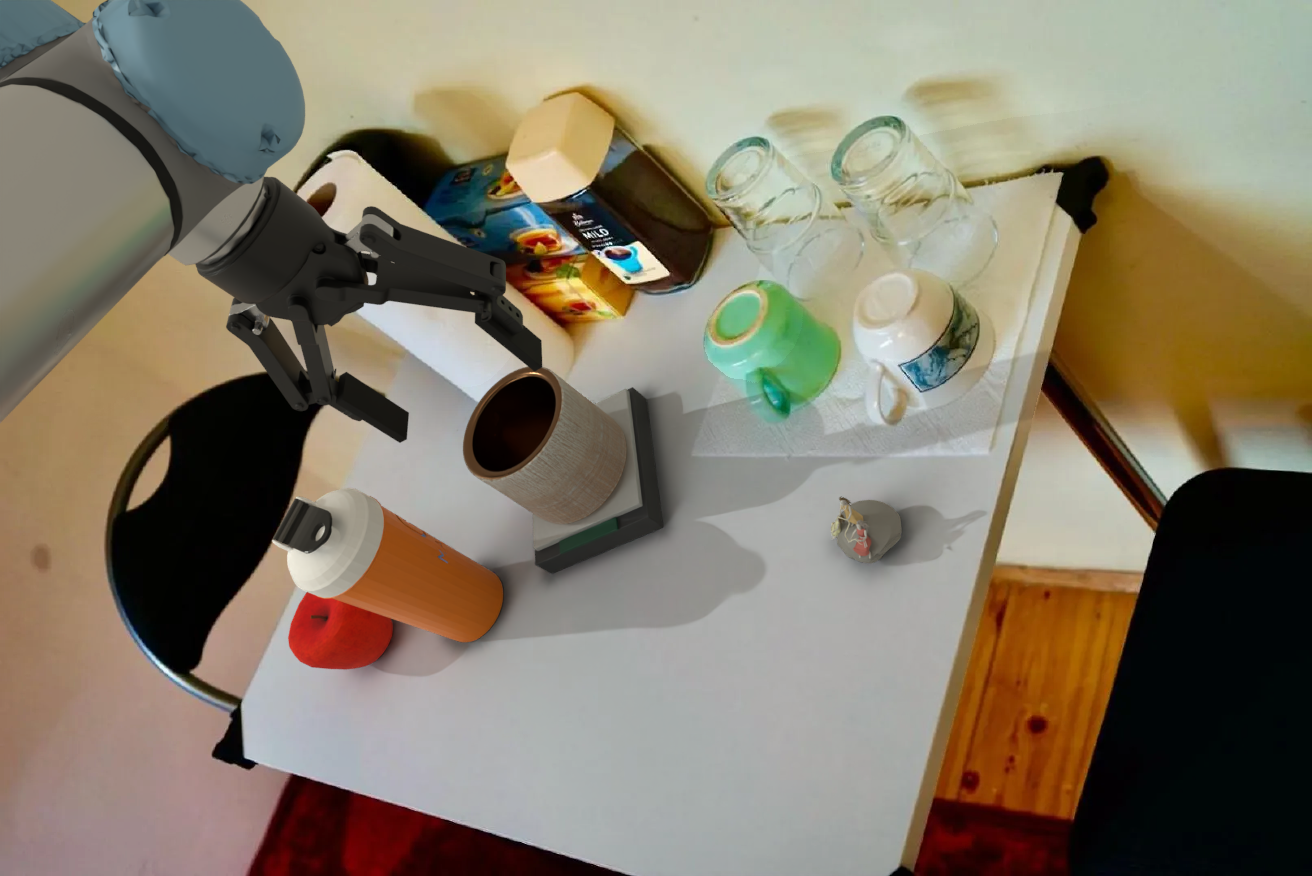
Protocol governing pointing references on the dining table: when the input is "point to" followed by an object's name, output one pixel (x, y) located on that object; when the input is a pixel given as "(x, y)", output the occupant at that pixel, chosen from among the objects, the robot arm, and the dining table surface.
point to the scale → (624, 510)
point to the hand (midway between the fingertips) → (469, 393)
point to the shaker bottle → (386, 566)
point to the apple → (337, 634)
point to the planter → (545, 446)
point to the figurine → (866, 529)
